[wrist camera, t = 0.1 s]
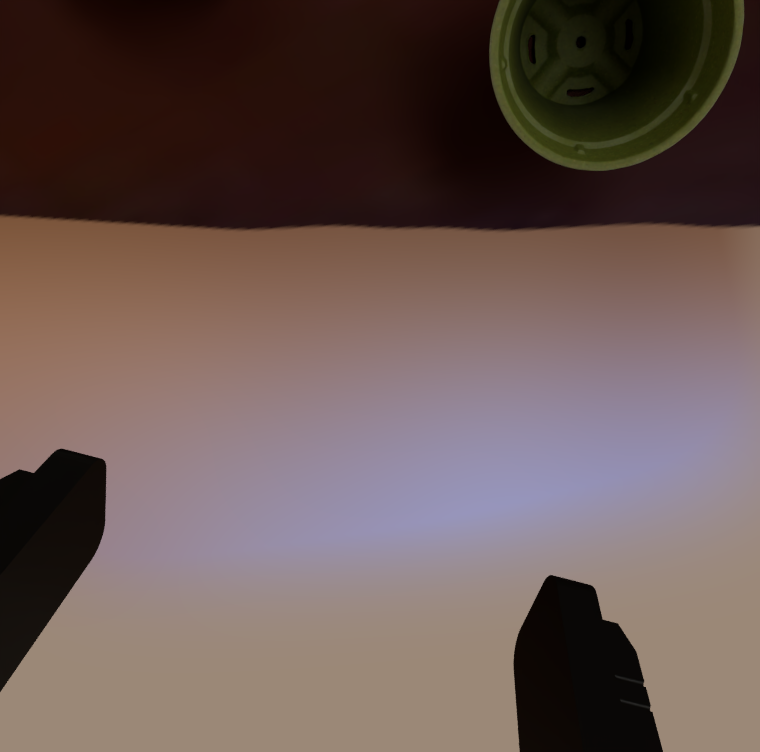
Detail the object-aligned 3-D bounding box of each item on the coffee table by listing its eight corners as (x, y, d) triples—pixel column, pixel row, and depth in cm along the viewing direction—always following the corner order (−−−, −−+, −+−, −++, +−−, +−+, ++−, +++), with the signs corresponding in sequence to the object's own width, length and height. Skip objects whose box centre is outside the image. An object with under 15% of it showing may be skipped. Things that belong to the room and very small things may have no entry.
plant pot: (474, -50, 32) (477, -70, 24) (682, -95, 30) (755, -132, 22) (493, 150, 36) (500, 186, 28) (676, 121, 34) (735, 151, 27)
